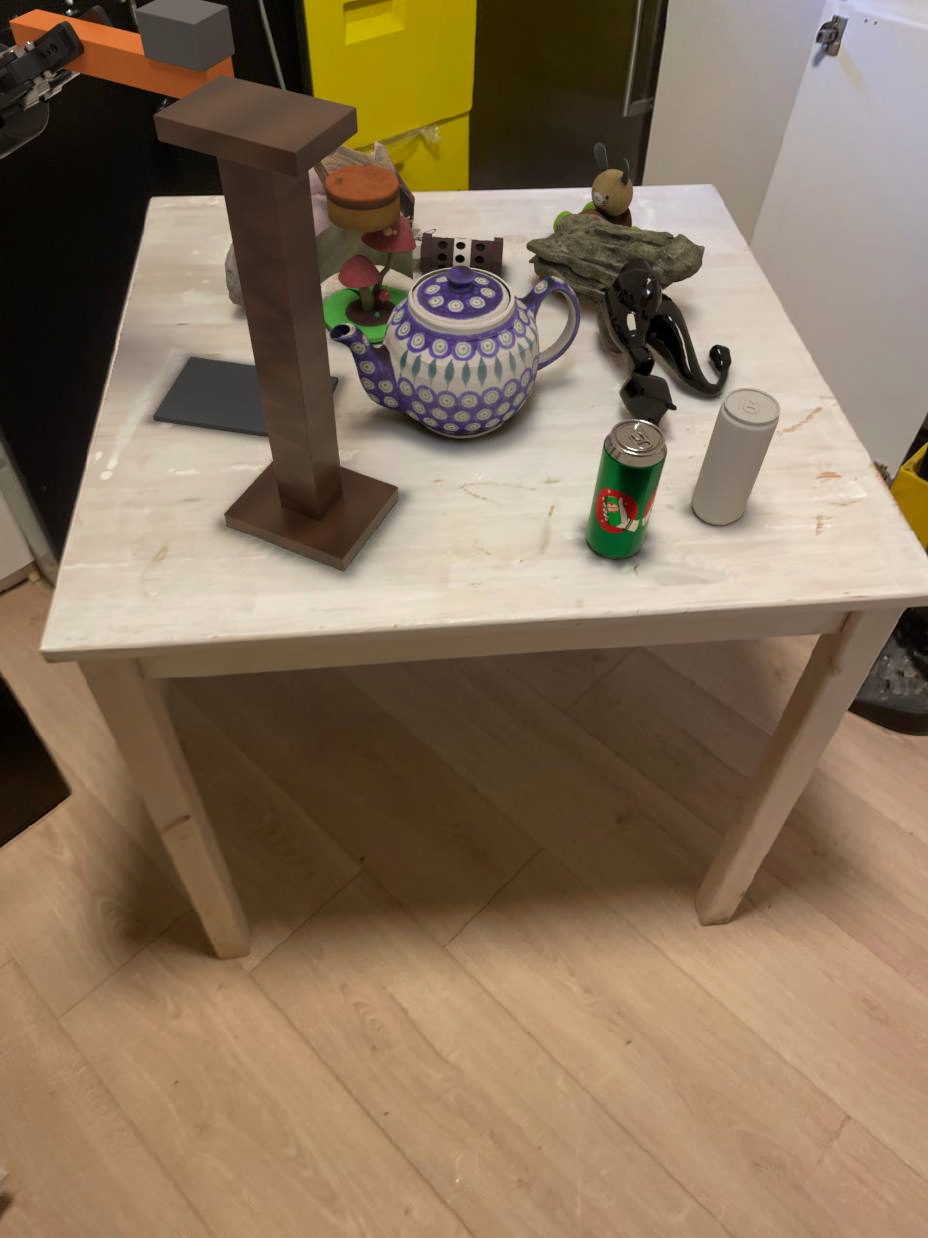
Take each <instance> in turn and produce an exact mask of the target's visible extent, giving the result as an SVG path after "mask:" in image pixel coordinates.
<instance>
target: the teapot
mask: <svg viewBox="0 0 928 1238" xmlns="http://www.w3.org/2000/svg"><path fill="white" fill-rule="evenodd" d="M553 292H559V293H561V294H562V295H563V296H564V297H565V299H566V302H567V305H568V314H567V320H566V324H565V326H564V328H563V330H562V332H561V333H560V335H559V336H558V338H557V339H556V340H555V342H554V343H552V344H551V345H550V346H549V347H548V348H546V349H545V350H543V351H541V352H540V339H539V338H540V337H539V329H538V325H537V315H538V313H539V310H540V307H541V306H542V303H543V300H544V299H545V298H546V297H548V296H549V294H551V293H553ZM407 294H408V296H407V297H406V298H405V299H404V300H402V301H401V302H400V303H399V304H398V305H397V306H396V307H395V308H394V310H393V312H392V313H391V315H390V318H389V320H388V323H387V326H386V331H385V335H384V340H383V341H382V344H381V346H379V347H375V346H374V345H373V344H372V342H370V341H369V340H368V338H367V337H366V335H365V334H364V333H363V332H362V331H361V330H360V329H359V328H358V327H356V326H355V325H352V324H350V323H343V324H339V325H337V326H335V327H334V328H333V329H332V330H331V331H330V330H329V334H328V335H329V336H328V337H329V338H330V339H331V340H332V341H335V342H337V343H340V344H343V345H344V346H345V347H347V348H348V349H349V350H350V353H351V356H352V358H353V362H354V365H355V367H356V371H357V375H358V379H359V381H360V384H361V386H362V389H363V390H364V392H365V393H366V394H367V396H368V398H369V399H370V400H371V401H372V402H374V403H375V404H376V405H379V406H380V407H383V408H385V409H387V410H391V411H395V412H401V413H404V414H405V415H407V416H409V417H410V418H411V419H413V420H415V421H417V422H418V423H420V424H422V425H423V426H424V427H426V428H427V429H428V430H430V431H431V432H434V433H435V434H439V435H442V436H444V437H448V438H454V439H471V438H477V437H480V436H485V435H487V434H489V433H492V432H493V431H496V430H497V429H498V428H500V427H502V425H503V424H504V423H505V422H506V421H508V420H509V419H510V418H512V417H514V416H515V415H516V414H517V413H519V411H520V410H521V409H522V407H523V406H524V405H525V403H526V402H527V400H528V399H529V397H531V395H532V393H533V391H534V390H533V389H534V385H535V383H536V380H537V375H538V372H539V371H541V370H542V369H544V368H546V367H548V366H549V365H551V364H552V363H554V362H555V361H557V360H558V359H559V358H561V357H562V356H563V355H564V354H565V353H566V352H567V351H568V350H569V349H570V347H571V346H572V344H573V342H574V341H575V339H576V337H577V334H578V331H579V328H580V326H581V306H580V301H579V298H577V296H576V294H575V292H574V291H573V290H572V289H571V287H569V286H568V285H567V284H566V283H565V282H564V281H563V280H562V279H560V278H558V277H555V276H548V277H546V278H544V279H543V280H542V281H541V280H539V282H537V283H536V284H535V285H534V286H533V287H532V288H531V290H530V291H529V292H528V293H527V294H526V295H525V296H523V297H517V296H516V295H515V293H514V291H513V288H512V287H511V286H510V285H509V284H508V283H507V282H506V281H505V280H504V279H503V278H501V276H497V275H495V274H493V273H492V272H488V271H485V270H481V269H477V268H470V267H467V266H462V265H460V266H455V267H452V268H444V269H435V270H432V271H430V272H426V273H425V274H423V275H421V276H420V277H419V278H417V279H416V281H415V282H414V283H413V284H412V286H411V287H410V289H409V291H408V293H407Z"/></svg>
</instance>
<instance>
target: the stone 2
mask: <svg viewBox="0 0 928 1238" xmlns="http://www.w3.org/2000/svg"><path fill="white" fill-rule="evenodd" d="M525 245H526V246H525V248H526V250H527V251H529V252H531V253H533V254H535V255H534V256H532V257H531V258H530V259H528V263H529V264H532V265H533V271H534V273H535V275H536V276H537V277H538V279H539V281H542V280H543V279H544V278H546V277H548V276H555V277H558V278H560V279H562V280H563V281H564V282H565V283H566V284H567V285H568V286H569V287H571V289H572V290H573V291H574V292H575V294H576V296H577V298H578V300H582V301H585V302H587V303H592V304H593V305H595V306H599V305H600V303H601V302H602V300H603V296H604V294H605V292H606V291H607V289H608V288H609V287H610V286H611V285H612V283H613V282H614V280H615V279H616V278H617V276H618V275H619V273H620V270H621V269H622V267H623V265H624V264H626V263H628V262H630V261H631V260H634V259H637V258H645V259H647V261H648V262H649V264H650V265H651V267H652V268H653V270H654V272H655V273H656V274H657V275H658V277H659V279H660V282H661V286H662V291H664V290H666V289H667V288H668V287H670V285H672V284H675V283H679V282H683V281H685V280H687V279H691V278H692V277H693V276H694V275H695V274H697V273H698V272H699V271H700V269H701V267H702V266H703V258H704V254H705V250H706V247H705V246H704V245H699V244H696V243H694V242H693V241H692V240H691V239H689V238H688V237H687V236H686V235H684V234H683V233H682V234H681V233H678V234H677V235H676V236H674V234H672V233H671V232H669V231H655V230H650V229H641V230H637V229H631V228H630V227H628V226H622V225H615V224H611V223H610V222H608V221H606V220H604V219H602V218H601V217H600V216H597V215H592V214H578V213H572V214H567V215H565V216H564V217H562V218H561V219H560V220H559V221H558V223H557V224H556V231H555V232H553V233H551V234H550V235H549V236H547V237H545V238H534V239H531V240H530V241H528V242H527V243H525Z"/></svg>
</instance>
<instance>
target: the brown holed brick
mask: <svg viewBox="0 0 928 1238" xmlns="http://www.w3.org/2000/svg"><path fill="white" fill-rule="evenodd" d="M436 231H437V229H436V228H432V229H429V230H425V231H424V232H422V233H421V234H419V235H417V234H416V236H415V242H416V248H415V249H414V250H413V260H414V259H415V260H420V272H421V273H423V272H424V273H430V272H431V270H432V269H433V270H434V269H435V270H440V269H444V268H452V267H455V266H460V265H462V266H467V267H470V268H477V269H481V270H485V271H488V272H490V273H493V274H495V275H497V276H498V277H501V276H502V267H503V259H504V258H503V256H504V237H499V236H497V237H496V236H495V237H493V240H489V239H488V240H486V239H485V240H484V239H483V240H482V239H472V238H471V237H470V238H469V237H456V236H455V237H441V236H433V234H434V233H436Z"/></svg>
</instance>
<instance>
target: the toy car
mask: <svg viewBox="0 0 928 1238" xmlns="http://www.w3.org/2000/svg"><path fill="white" fill-rule="evenodd" d="M593 154H594V158H595V162H596V164H597V166H598V169H599V170H600V172H601V173H599V174H598V175H597V176H596V177H595V178H594V180H593V183H592V185H591V191H590V193H591V200H592V201H589V202H587V203H586V204H585V205H584V206H583V208H582V210H581V211H579V212H578V213H577V214H592V215H597V216H600V217H601V218H602V219H604V220H606V221H608V222H610V223H611V224H615V225H622V226H628V227H630V228H631V229H637V230H642V228H639V227H638V226H637V225H636V226H635V225H633V218H632V212H631V209H630V208H629V207H630V205H631V203H632V201H633V197H634V186H633V183H632V181H631V179H630V175H629V172H630V165H629V162H628V159H627V158H626V157H623V159H622V160H623V171H622V170H620V169H615V168H611V169H609V163H608V158H607V150H606V146H605V145H604V144H603V143H602V142H597V143H596V144H595V145H594V147H593ZM567 214H573V212H571V211H569V210H564V211H562V212H560V213H559V214H558V215H557V216H556V218H555V219H554V222H553V227H552V228H553V233H555V231H556V224H557V223H558V221H559V220H560V219H561V218H562V217H564V216H565V215H567Z"/></svg>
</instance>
